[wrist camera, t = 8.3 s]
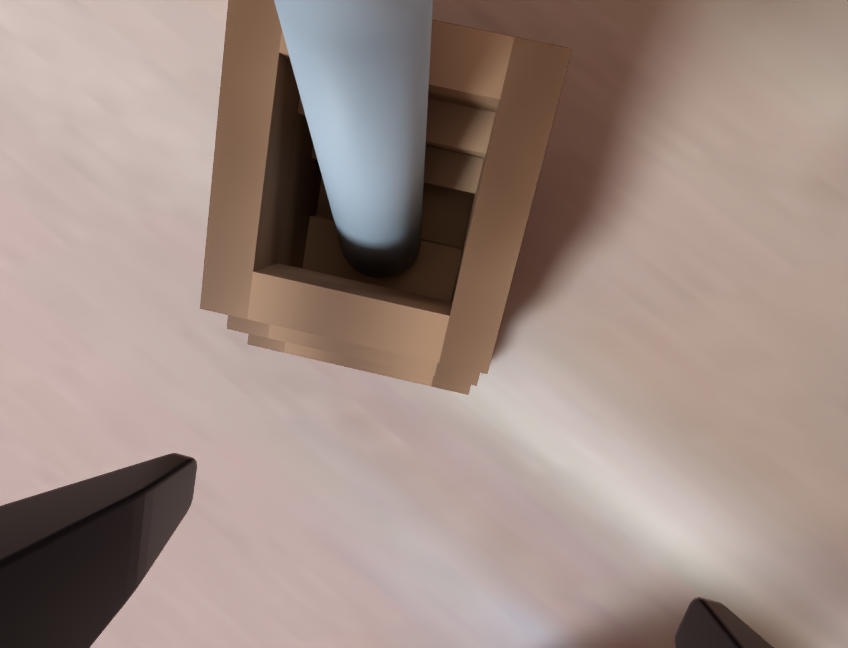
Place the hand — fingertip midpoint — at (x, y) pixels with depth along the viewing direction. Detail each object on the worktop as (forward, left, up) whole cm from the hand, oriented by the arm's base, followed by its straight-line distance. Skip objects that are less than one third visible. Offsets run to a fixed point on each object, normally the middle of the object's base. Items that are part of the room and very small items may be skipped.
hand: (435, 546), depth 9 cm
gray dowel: (+4, -4, -11) cm, 12 cm away
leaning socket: (+4, -4, -13) cm, 14 cm away
